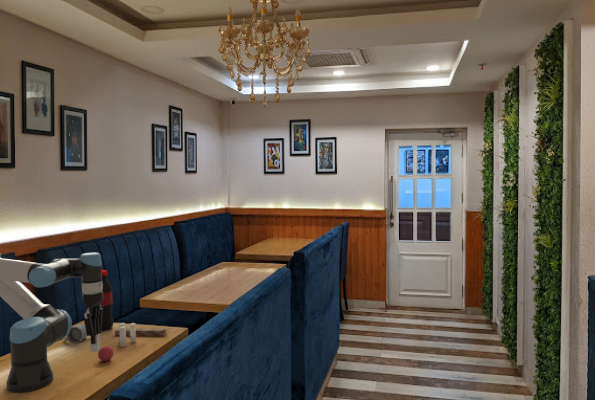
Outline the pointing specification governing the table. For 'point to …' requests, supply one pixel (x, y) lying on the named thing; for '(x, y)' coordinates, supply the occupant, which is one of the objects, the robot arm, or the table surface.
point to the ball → (105, 353)
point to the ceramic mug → (76, 333)
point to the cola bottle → (106, 303)
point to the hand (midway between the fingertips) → (95, 350)
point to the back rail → (145, 332)
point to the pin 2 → (132, 332)
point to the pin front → (123, 336)
